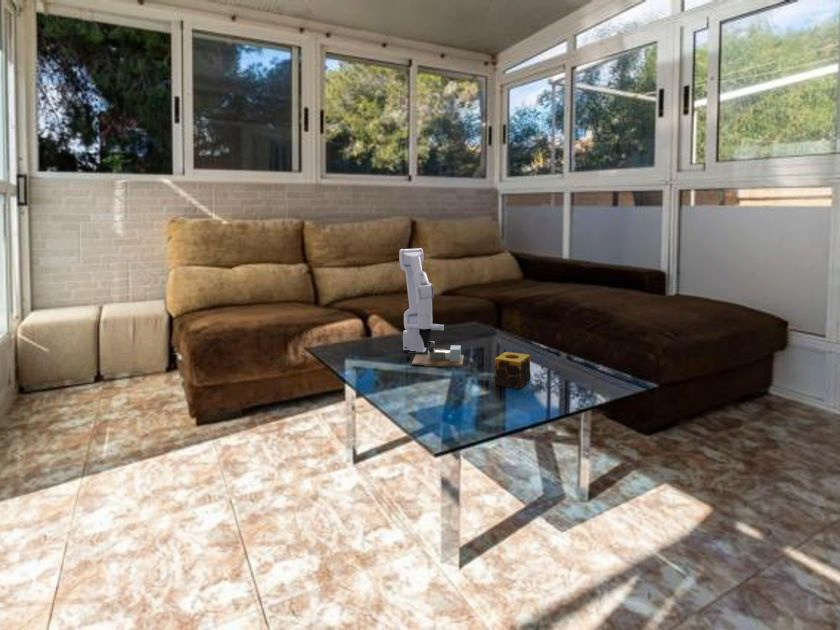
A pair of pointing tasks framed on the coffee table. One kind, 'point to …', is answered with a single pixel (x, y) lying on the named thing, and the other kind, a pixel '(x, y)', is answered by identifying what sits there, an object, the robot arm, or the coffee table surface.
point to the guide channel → (437, 355)
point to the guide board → (426, 362)
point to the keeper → (455, 353)
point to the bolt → (432, 349)
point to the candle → (512, 370)
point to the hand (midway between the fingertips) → (426, 347)
